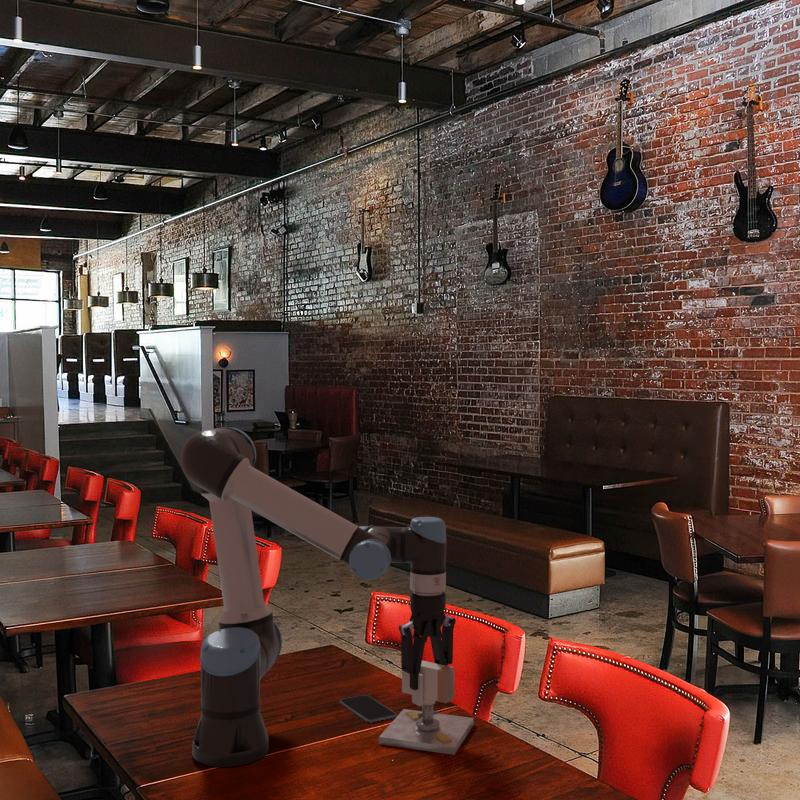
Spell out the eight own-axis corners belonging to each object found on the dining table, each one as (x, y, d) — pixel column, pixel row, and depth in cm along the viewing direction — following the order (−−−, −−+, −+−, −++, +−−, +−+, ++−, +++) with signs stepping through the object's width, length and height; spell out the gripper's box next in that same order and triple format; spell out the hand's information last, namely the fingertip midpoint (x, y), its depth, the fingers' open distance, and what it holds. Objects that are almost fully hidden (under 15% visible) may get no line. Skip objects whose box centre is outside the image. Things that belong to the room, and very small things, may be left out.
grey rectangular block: (401, 699, 187) (401, 661, 187) (410, 694, 190) (410, 657, 190) (445, 710, 181) (445, 671, 181) (454, 705, 184) (454, 667, 184)
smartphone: (366, 694, 208) (398, 714, 195) (366, 698, 208) (398, 718, 195) (338, 699, 204) (368, 720, 191) (338, 703, 204) (368, 725, 191)
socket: (454, 754, 176) (454, 722, 175) (379, 744, 181) (379, 712, 180) (473, 724, 191) (473, 695, 190) (403, 715, 196) (403, 686, 196)
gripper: (404, 601, 177) (403, 716, 177) (471, 589, 187) (470, 698, 188) (383, 593, 183) (382, 704, 184) (449, 582, 193) (448, 687, 194)
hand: (427, 701), depth 186 cm, fingers closed on grey rectangular block, 4 cm apart
